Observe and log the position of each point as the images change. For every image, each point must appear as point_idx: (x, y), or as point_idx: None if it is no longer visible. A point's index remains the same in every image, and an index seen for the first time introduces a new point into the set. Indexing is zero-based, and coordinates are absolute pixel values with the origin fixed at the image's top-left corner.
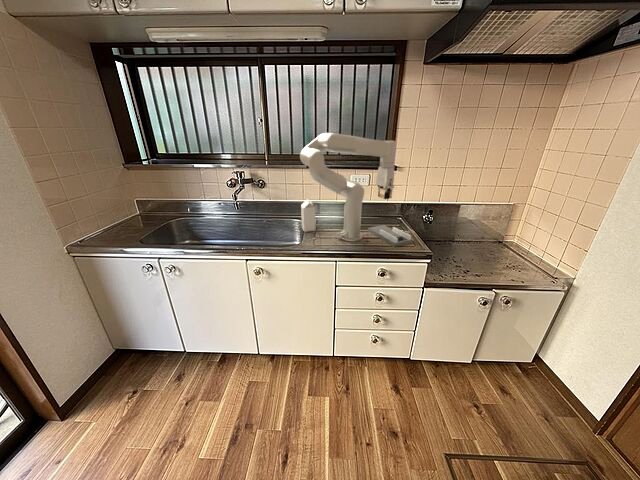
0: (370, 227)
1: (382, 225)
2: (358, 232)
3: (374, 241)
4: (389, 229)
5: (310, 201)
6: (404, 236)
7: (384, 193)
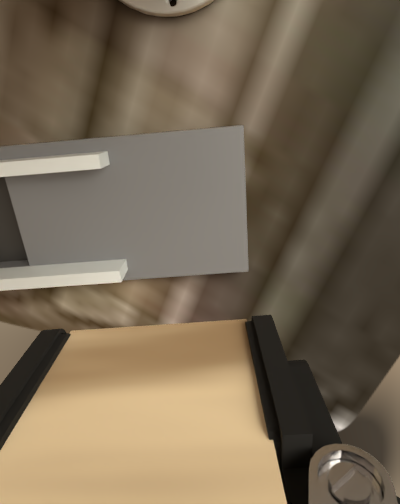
0: (242, 150)
1: (243, 255)
2: None
3: (44, 69)
4: (158, 258)
5: None
6: (2, 270)
7: (34, 419)
